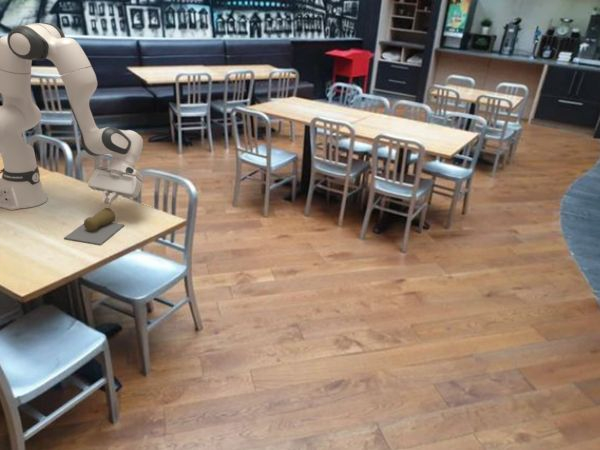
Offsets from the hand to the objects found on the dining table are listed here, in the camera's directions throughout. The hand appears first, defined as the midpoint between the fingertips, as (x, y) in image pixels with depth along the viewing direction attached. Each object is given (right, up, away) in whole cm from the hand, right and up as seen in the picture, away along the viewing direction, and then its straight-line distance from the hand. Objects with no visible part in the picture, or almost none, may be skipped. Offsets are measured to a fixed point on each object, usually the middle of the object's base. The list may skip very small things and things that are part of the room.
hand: (107, 203), depth 172 cm
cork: (0, -4, +3) cm, 5 cm away
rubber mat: (-3, -11, -4) cm, 12 cm away
